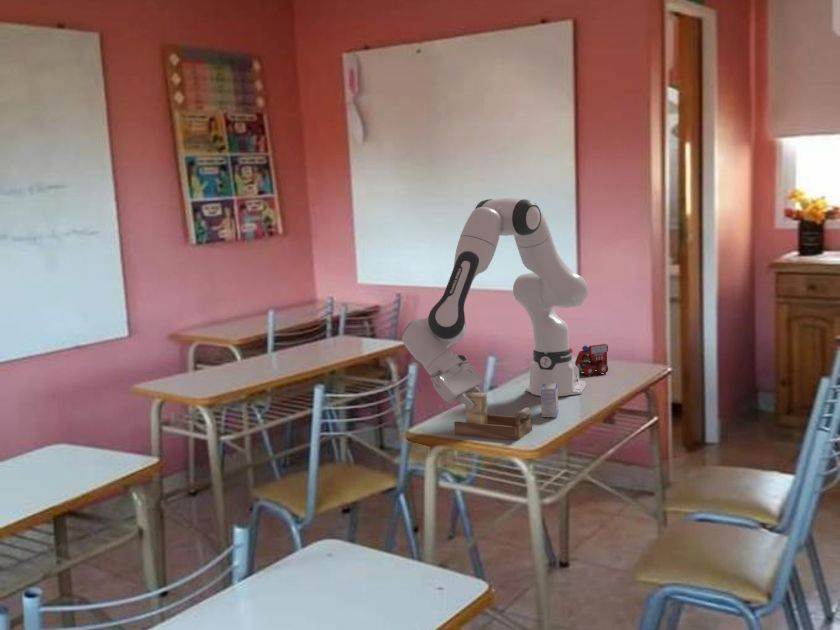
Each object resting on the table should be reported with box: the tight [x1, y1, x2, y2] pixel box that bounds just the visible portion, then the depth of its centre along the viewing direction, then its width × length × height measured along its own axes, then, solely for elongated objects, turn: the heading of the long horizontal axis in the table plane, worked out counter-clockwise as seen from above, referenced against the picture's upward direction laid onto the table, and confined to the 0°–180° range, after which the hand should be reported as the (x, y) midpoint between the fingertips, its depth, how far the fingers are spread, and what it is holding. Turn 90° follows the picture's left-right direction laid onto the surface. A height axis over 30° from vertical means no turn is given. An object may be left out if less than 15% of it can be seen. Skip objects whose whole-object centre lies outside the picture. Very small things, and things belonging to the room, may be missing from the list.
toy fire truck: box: [574, 343, 609, 376], centre depth 323 cm, size 7×12×10 cm, turn 106°
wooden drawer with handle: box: [453, 407, 533, 441], centre depth 254 cm, size 10×19×7 cm, turn 62°
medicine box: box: [540, 383, 559, 419], centre depth 270 cm, size 8×4×9 cm, turn 168°
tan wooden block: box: [464, 392, 488, 424], centre depth 256 cm, size 4×4×10 cm
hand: (478, 404), depth 255 cm, fingers open, 5 cm apart
